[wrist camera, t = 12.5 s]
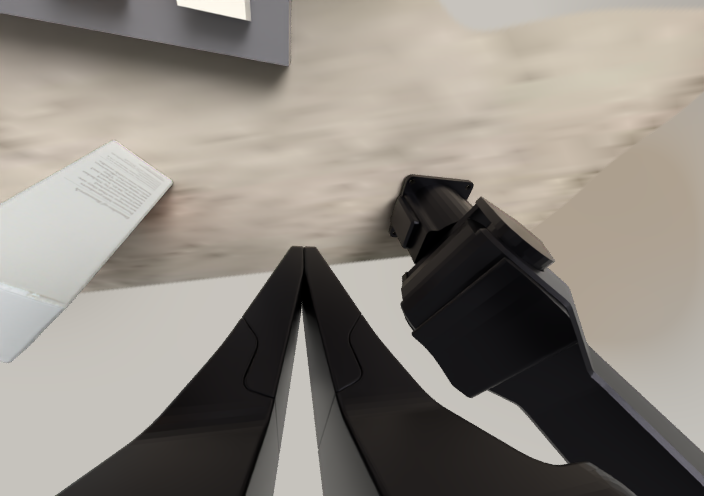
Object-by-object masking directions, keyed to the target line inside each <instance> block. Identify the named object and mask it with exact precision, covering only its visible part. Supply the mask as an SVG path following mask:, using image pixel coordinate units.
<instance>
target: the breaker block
mask: <svg viewBox="0 0 704 496" xmlns="http://www.w3.org/2000/svg"><path fill="white" fill-rule="evenodd" d="M291 2H292V0H250V10H251V21H248V20H243V19H238V18H234V17H229V16H225V15H220V14H215V13H211V12H206V11H201V10H197V9H192V8H188V7H183V6H178V5H177V0H0V13H3V14H8V15H14V16H19V17H25V18H30V19H35V20H41V21H46V22H52V23H57V24H62V25H68V26H73V27H78V28H84V29H89V30H95V31H100V32H105V33H111V34H116V35H122V36H127V37H132V38H138V39H143V40H149V41H154V42H159V43H165V44H170V45H176V46H181V47H186V48H192V49H197V50H203V51H208V52H213V53H219V54H224V55H230V56H235V57H240V58H246V59H251V60H257V61H262V62H267V63H273V64H278V65H284V66H289V65H290V62H291Z"/></svg>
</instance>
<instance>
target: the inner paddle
mask: <svg viewBox="0 0 704 496" xmlns="http://www.w3.org/2000/svg"><path fill="white" fill-rule="evenodd" d="M177 5H178V6H183V7H188V8H192V9H197V10H201V11H206V12H211V13H215V14H220V15H225V16H229V17H234V18H238V19H243V20H248V21H251V10H250V0H177Z"/></svg>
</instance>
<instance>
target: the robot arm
mask: <svg viewBox="0 0 704 496" xmlns="http://www.w3.org/2000/svg"><path fill="white" fill-rule="evenodd" d="M411 179H414V180H413V182H411V183H410V180H411ZM467 185H469V186H468V187H467V188H466V186H467ZM473 186H474V185H473V183H472V182H471V181H469V180H461V179H451V178H442V177H432V176H423V175H413V174H412V175H409V176H407V177H406V179H405V182H404V185H403V188H402V192H401V195H400V197H398V198H397V201H396V204H395V207H394V210H393V214H392V217H391V220H390V221H391V226H390V229H389V233H390V236H392V237H398V239H399V241H400V243H401V245H402V247H403V248H404V249H408V251H409V253H410V255H411V257H412V260H413V262H414V264H416V265H415V266H414V267H413V268H412V269H411V270H410V271H409V272H406V273H405V274H404V275H403V276H402V288H401V291H402V298H403V301H402V302H401V308H402V310H403V313H404V316H405V319H406V320H407V322H408V324H409V326H410V327H411V328H412V330H413V332H412V336H413V337H414V338H415V339H416V340H418V341H419V342H420V343H421V344H422V345H423V346H424V347H425V348H426V349H427V350H428V351H429V352H430V353H431V355H432V356H433V357H434V358H435V360H436V361H437V362H438V364H439V365H440V367H441V368H442V370H443V371H444V373H445V375H446V376H447V378H448V379H449V381H450V382H451V384H452V385H453V386H454V387H455V388H456V389H458V390H459V391H460V392H462V393H463V394H464V395H466V396H467V397H469V398H473V397H475V396H476V395H478V394H480V393H482V392H484V391H486V390H488V391H490V392H492V393H494V394H496V395H498V396H500V397H502V398H504V399H506V400H508V401H510V402H512V403H514V404H516V405H517V406H519V407H520V408H521V409H522V410H523V412H524V413H525V414H526V415H527V416H528V417H529V418H530V420H531V421H532V422H533V423H534V424H535V425H536V427H537V428H538V429H539V430H540V431H541V432H542V434H543V435H544V436H545V437H546V438H547V440H548V441H549V442H550V443H551V444H552V445H553V447H554V448H555V449H556V450H557V451H558V453H559V454H560V455H561V456H562V457H563V458H564V460H565V461H566V462H567V463H568V464H564V465H552V464H548V463H544V462H541V461H539V460H536V459H533V458H531V457H529V456H527V455H525V454H523V453H521V452H520V451H518V450H516V449H514V448H513V447H511V446H509V445H508V444H506V443H504V442H502V441H501V440H499V439H497V438H496V437H494V436H492V435H491V434H489V433H487V432H485V431H484V430H482V429H480V428H479V427H477V426H475V425H474V424H472V423H470V422H468V421H467V420H465V419H463V418H462V417H460V416H458V415H456V414H455V413H453V412H451V411H450V410H448V409H446V408H445V407H443V406H442V405H440V404H439V403H437V402H436V401H435V400H433V399H432V398H431V397H430V396H429V395H428V394H427V393H426V392H425V391H424V390H423V389H422V388H421V387H420V386H419V384H418V383H417V382H416V381H415V380H414V379H413V378H412V376H411V375H410V374H409V373H408V372H407V371H406V369H404V367H403V366H402V365H401V364H400V363H399V361H398V360H397V359H396V358H395V357H394V356H393V354H392V353H391V352H390V351H389V350H388V349H387V347H386V346H385V345H384V344H383V342H382V341H381V340H380V339H379V338H378V336H377V335H376V334H375V332H374V331H373V329H372V328H371V327H370V325H369V324H368V322H367V321H366V319H365V318H364V317H363V315H361V312H360V311H359V309H358V308H357V306H356V305H355V303H354V302H353V301H352V299H351V298H350V296H349V295H348V293H347V292H346V290H345V289H344V287H343V286H342V285H341V283H340V281H339V280H338V279H337V277H336V276H335V274H334V273H333V271H332V270H331V268H330V267H329V265H328V264H327V262H326V261H325V259H324V258H323V257H322V255H321V254H320V252H319V251H318V249H317V248H316V247H307V246H306V247H304V248H303V247H302V246H292V247H291V248H290V249H289V250H288V252H287V253H286V255H285V256H284V257H283V259H282V260H281V262H280V263H279V265H278V266H277V267H276V269H275V270H274V272H273V273H272V275H271V276H270V278H269V279H268V280H267V282H266V284H265V285H264V286H263V288H262V289H261V290H260V292H259V293H258V295H257V296H256V298H255V299H254V300H253V302H252V303H251V305H250V306H249V308H248V309H247V310H246V312H245V313H244V315H243V316H242V318H241V319H240V320H239V322H238V323H237V325H236V326H235V328H234V329H233V330H232V332H231V333H230V334H229V336H228V337H227V338H226V340H225V341H224V342H223V344H222V345H221V346H220V347H219V348H218V350H217V351H216V352H215V353H214V354H213V356H212V357H211V358H210V359H209V360H208V362H207V363H206V364H205V365H204V366H203V367H202V369H201V370H200V371H199V372H198V373H197V374H196V375H195V376H194V378H193V379H192V380H191V381H190V382H189V383H188V384H187V385H186V387H185V388H184V389H183V390H182V391H181V392H180V393H179V395H178V396H177V397H176V398H175V399H174V400H173V401H172V403H171V404H170V405H169V406H168V407H167V408H166V409H165V411H164V412H163V413H162V414H161V415H160V416H159V417H158V418H157V419H156V420H155V421H154V422H153V423H152V424H151V425H150V426H149V427H148V428H147V429H146V430H144V432H142V433H141V434H140V435H139V436H138V437H136V438H135V439H134V440H133V441H131V442H130V443H129V444H127V445H126V446H125V447H123V448H122V449H121V450H119V451H118V452H116V453H115V454H113V455H112V456H111V457H109V458H108V459H106V460H105V461H104V462H102V463H101V464H99V465H98V466H97V467H95V468H94V469H92V470H91V471H89V472H88V473H87V474H85V475H84V476H82V477H81V478H79V479H78V480H77V481H75V482H74V483H72V484H71V485H70V486H68V487H67V488H65V489H64V490H63V491H61V492H60V493H58V494H57V495H55V496H273V493H274V486H275V480H276V473H277V467H278V460H279V453H280V447H281V440H282V434H283V427H284V421H285V414H286V408H287V401H288V395H289V388H290V382H291V375H292V368H293V362H294V355H295V349H296V342H297V336H298V329H299V322H300V316H301V308H302V311H303V312H302V313H303V322H304V331H305V339H306V348H307V357H308V366H309V375H310V383H311V392H312V401H313V409H314V418H315V427H316V436H317V445H318V449H319V450H318V454H319V462H320V471H321V480H322V489H323V496H704V453H703V452H702V451H701V450H700V449H699V448H698V447H697V446H696V445H695V444H694V443H692V442H691V441H690V440H689V439H688V438H687V437H686V436H685V435H684V434H683V433H682V432H681V431H680V430H679V429H677V428H676V427H675V426H674V425H673V424H672V423H671V422H670V421H669V420H668V419H667V418H666V417H665V416H664V415H662V414H661V413H660V412H659V411H658V410H657V409H656V408H655V407H654V406H653V405H651V404H650V403H649V402H648V401H647V400H646V399H645V398H644V397H643V396H642V395H641V394H640V393H639V392H638V391H637V390H636V389H635V388H633V387H632V386H631V385H630V384H629V383H628V382H627V381H626V380H625V379H624V378H623V377H622V376H620V375H619V374H618V373H617V372H616V371H615V370H614V369H613V368H612V367H611V366H610V365H609V364H607V362H605V361H604V360H603V359H602V358H601V357H600V356H599V355H598V354H597V353H595V351H594V350H593V349H592V348H591V347H590V346H589V345H588V344H587V342H586V339H585V336H584V333H583V330H582V327H581V323H580V320H579V317H578V314H577V310H576V307H575V304H574V301H573V298H572V294H571V291H570V289H569V287H568V286H567V285H566V284H565V283H564V282H563V281H562V280H561V279H560V278H558V277H557V276H556V275H555V274H554V273H553V272H552V271H551V270H550V269H549V268H547V267H548V266H549V265H551V264H552V263H554V262H555V260H554V259H553V257H552V256H551V254H550V253H549V251H548V250H547V249H546V247H545V246H544V244H543V243H542V242H541V241H540V240H539V239H538V238H537V237H536V236H535V235H533V234H532V233H531V232H530V231H529V230H528V229H526V228H525V227H524V226H523V225H522V224H520V223H519V222H518V221H517V220H515V219H514V218H512V217H511V216H509V215H508V214H506V213H505V212H503V211H502V210H500V209H499V208H498V207H496V206H495V205H493V204H492V203H490V202H489V201H487V200H486V199H484V198H483V197H480V198H479V199H478V200H477V201H476V202H475V203H476V204H475V205H474V206H472V205H471V204H470V203H469V202H468V201H467V199H468V197H469V195H470V193H471V191H472V189H473ZM394 231H395V232H394ZM393 232H394V233H393Z"/></svg>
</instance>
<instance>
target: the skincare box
mask: <svg viewBox="0 0 704 496" xmlns="http://www.w3.org/2000/svg"><path fill="white" fill-rule="evenodd" d="M172 184H173V182H172V180H171V179H169V178H168V177H166V176H165V175H164V174H162V173H161V172H159V171H158V170H156V169H155V168H154V167H152V166H151V165H149V164H148V163H147V162H145V161H144V160H142V159H141V158H139V157H138V156H137V155H135V154H134V153H133V152H131V151H130V150H128V149H127V148H126V147H124V146H123V145H121V144H120V143H119V142H117V141H115V140H112V141H110V142H108V143H106V144H105V145H103V146H101V147H99V148H98V149H96V150H94V151H92V152H91V153H89V154H87V155H85V156H84V157H82V158H80V159H79V160H77V161H75V162H73V163H72V164H70V165H68V166H66V167H65V168H63V169H61V170H59V171H57V172H56V173H54V174H52V175H50V176H49V177H47V178H45V179H43V180H41V181H40V182H38V183H36V184H34V185H33V186H31V187H29V188H27V189H26V190H24V191H22V192H20V193H18V194H17V195H15V196H13V197H11V198H10V199H8V200H6V201H4V202H3V203H1V204H0V362H3V363H9V362H12V361H13V360H14V359H15V358H16V357H17V356H19V355H20V354H21V353H22V352H23V351H24V350H25V349H27V348H28V346H30V345H31V344H32V343H33V342H34V341H35V339H36V338H37V337H38V336H39V335H40V334H41V333H42V332H43V331H44V330H45V329H46V328H47V327H48V326H49V325H50V324H51V323H52V322H53V321H54V320H55V319H56V318H57V317H58V316H59V315H60V313H62V311H63V310H65V309H66V308H67V307H68V306H69V304H70V303H71V302H72V301H73V300H74V299H75V298H76V297H77V295H78V294H79V293H80V292H81V291H82V290H83V288H84V287H85V286H86V285H87V284H88V283H89V281H90V280H91V279H92V278H93V277H94V276H95V275H96V273H97V272H98V271H99V270H100V269H101V268H102V266H103V265H104V264H105V263H106V262H107V261H108V259H109V258H110V257H111V256H112V255H113V254H114V252H115V251H116V250H117V249H118V248H119V246H120V245H121V244H122V243H123V242H124V241H125V240H126V238H127V237H128V236H129V235H130V234H131V233H132V231H133V230H134V229H135V228H136V227H137V225H138V224H139V223H140V222H141V221H142V220H143V218H144V217H145V216H146V215H147V214H148V213H149V211H150V210H151V209H152V208H153V207H154V206H155V204H156V203H157V202H158V201H159V200H160V198H161V197H162V196H163V195H164V194H165V192H166V191H167V190H168V189H169V188H170V187H171V185H172Z"/></svg>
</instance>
